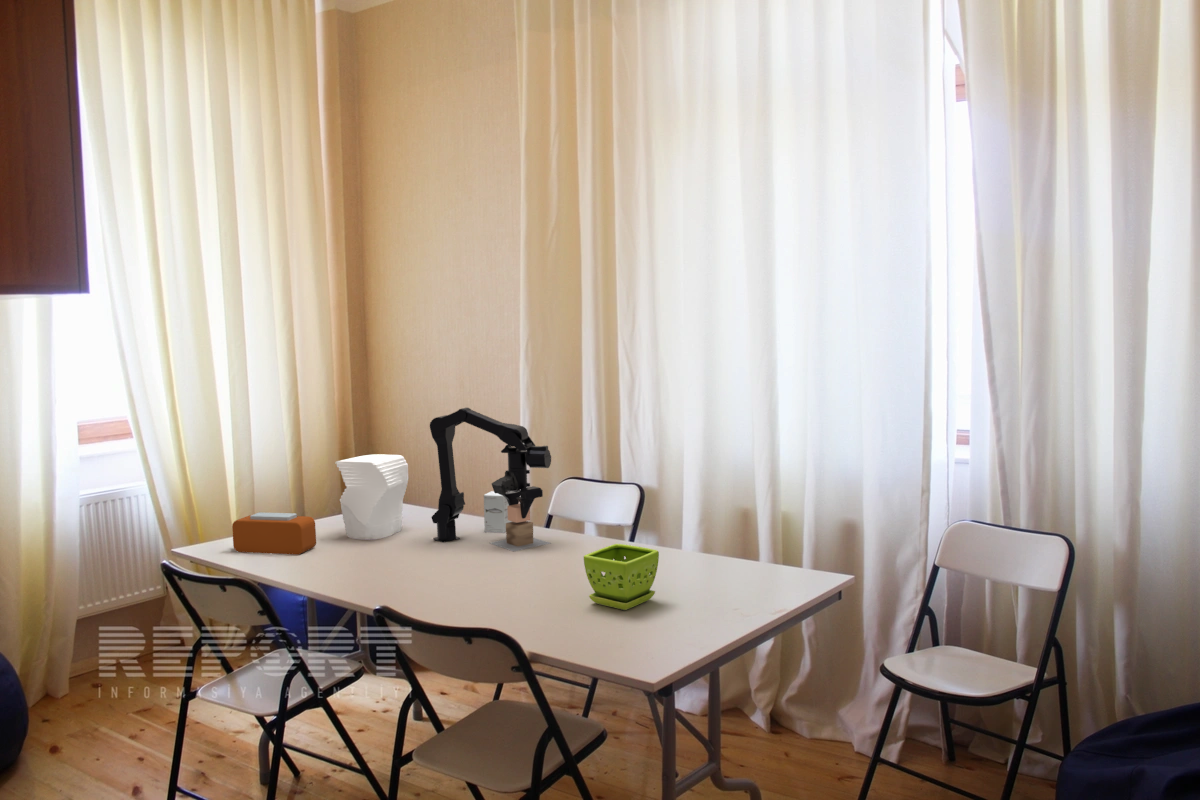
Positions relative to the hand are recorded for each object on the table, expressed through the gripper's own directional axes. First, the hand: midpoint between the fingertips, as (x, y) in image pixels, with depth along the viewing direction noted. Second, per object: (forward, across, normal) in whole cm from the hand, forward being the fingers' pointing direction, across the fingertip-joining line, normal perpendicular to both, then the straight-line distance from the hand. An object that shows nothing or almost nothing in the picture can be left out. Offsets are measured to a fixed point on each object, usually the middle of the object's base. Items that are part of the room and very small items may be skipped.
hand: (518, 516), depth 288 cm
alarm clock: (+9, -48, -59) cm, 77 cm away
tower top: (+5, 0, 0) cm, 5 cm away
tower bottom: (+8, 0, 0) cm, 8 cm away
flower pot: (+9, +66, -14) cm, 68 cm away
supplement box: (+9, -20, +5) cm, 22 cm away
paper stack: (+9, -44, -25) cm, 51 cm away
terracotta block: (+1, 0, 0) cm, 1 cm away
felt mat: (+9, 0, 0) cm, 9 cm away
